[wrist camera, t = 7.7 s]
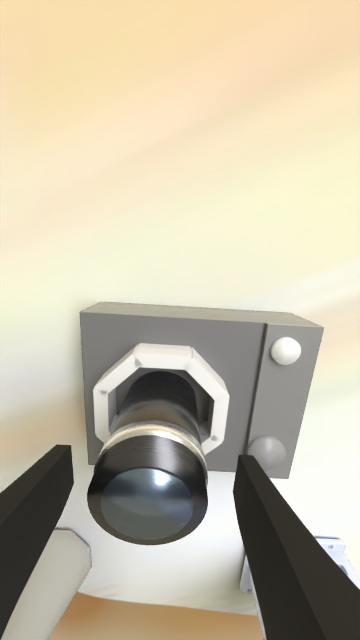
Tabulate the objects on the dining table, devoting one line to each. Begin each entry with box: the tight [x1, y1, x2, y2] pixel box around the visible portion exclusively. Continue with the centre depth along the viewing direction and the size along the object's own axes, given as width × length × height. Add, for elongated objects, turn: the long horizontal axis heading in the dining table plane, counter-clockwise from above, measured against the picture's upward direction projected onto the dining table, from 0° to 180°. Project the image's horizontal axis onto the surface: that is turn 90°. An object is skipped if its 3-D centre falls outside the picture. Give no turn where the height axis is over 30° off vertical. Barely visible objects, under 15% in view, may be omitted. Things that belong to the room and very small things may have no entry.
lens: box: [87, 371, 208, 545], centre depth 11 cm, size 5×5×6 cm
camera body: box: [80, 302, 324, 479], centre depth 15 cm, size 14×11×5 cm
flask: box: [1, 530, 92, 640], centre depth 18 cm, size 7×7×10 cm
